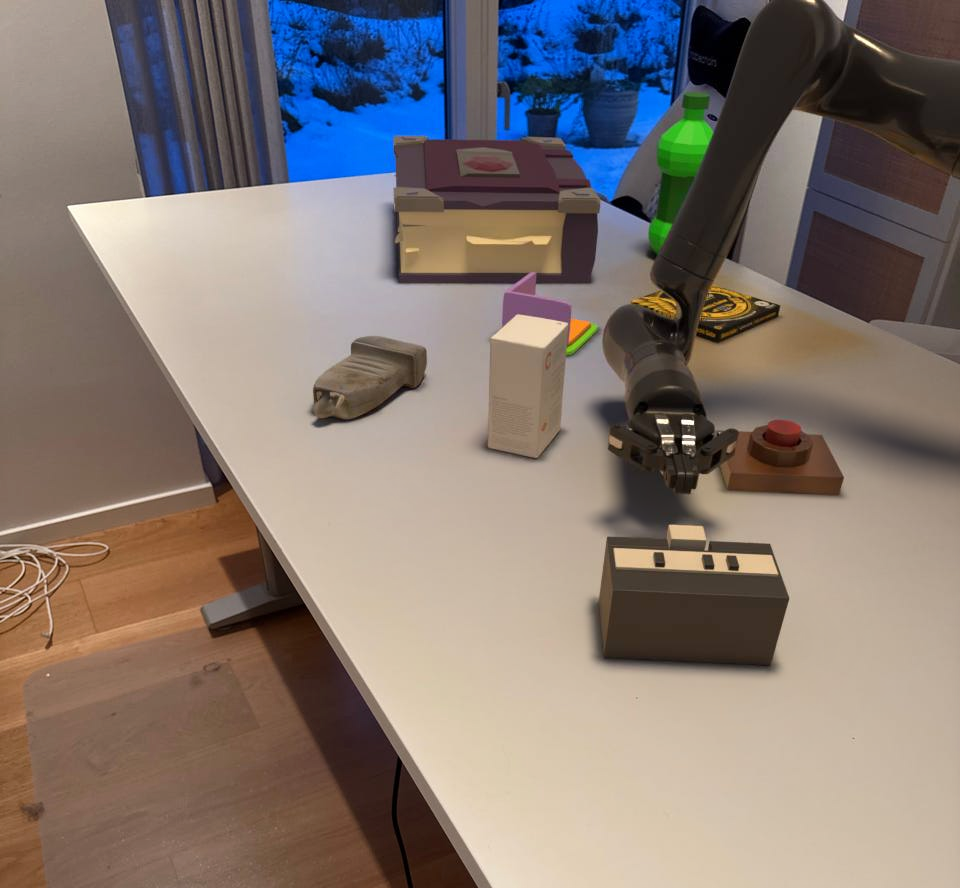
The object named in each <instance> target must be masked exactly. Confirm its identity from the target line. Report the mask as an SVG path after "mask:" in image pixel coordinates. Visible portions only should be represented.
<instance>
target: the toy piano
mask: <svg viewBox="0 0 960 888" xmlns="http://www.w3.org/2000/svg"><path fill="white" fill-rule="evenodd" d="M708 542H709V543H708V547H707V550H706V549H705V550H686V549H669V545H668V540H667V539H666V538H651V537H633V536H632V537H628V536H611V535H610V536H608V535H607V536H606V540H605V548H604V557H603V565H602V571H601V579H600V587H599V596H598V610H599V621H600V631H601V641H602V653H603V658H608V659H629V660H650V661H669V662H670V661H672V662H692V663H693V662H694V663H696V662H697V663H710V664H711V663H712V664H713V663H715V664H735V665H757V666H771V665H772V662H773V658H774V655H775V652H776V648H777V644H778V641H779V637H780V634H781V630H782V627H783V624H784V619H785V617H786V616H785V615H786V612H787V609H788V605H789V603H790V596H789V593H788V589H787V587H786V584H785V581H784V579H783V576H782V574H781V570H780V568H779V565H778V563H777V559H776V556H775V553H774V551H773V548H772V545H771V543H765V542H764V543H763V542H741V541H719V540H717V541H716V540H710V541H708Z"/></svg>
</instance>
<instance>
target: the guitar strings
mask: <svg viewBox="0 0 960 888" xmlns="http://www.w3.org/2000/svg"><path fill="white" fill-rule="evenodd" d="M630 304H638V305H641V306H644V307H646V308H649V309H651V310H653V311H655V312H658V313H660V314H662V315H664V316H667V317H669V318H671V319H673V318H674V316H675V314H676V303H675V301H674V300H673V299H672V298H670V297H669V296H668V295H666V294H665V293H664V292H662V291H661V290H660V289H659V290H658V291H655V292H652V293H649V294H647V295H646V294H645V295H643V296H640V297H638V298H635V299H633V300H632V299H631V300H630ZM780 310H781V304H777V303H774V302H772V301H768V300H764V299H761V298H758V297H755V296H751V295H748V294H745V293H742V292H738V291H735V290H733V289H732V290H731V289H729V288H726V287H721V286H718V285H716V284H712V286H711V288H710V290H709V293H708V295H707V298H706V301H705V304H704V307H703V310H702V313H701V316H700V320H699V324H698V328H697V332H696V337H699V338H703V339H704V340H705V339H706V340H707V341H712V342H714V343H717V344H718V343H720V342H723V341H725V340H727V339H730V338H732V337H735V336H737V335H739V334H741V333H744V332H746V331H748V330H749V331H750V330H751V329H753V328H756V327H758V326H761V325H762V324H765V323H767V322H770V321H772V320H774V319H776V318H778V317H779V314H780Z"/></svg>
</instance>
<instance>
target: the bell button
mask: <svg viewBox="0 0 960 888" xmlns="http://www.w3.org/2000/svg"><path fill="white" fill-rule="evenodd" d="M766 425H767V429H766V433H765V437H764V440H765V441H767V442H768V443H770V444H772V445H776V446H780V447H793V446H797V445H798V441H799V437H800V434H801V431H802V427H801V426H800V425H799V424H798V423H797V422H795V421H791V420H788V419H773V420H770V421H769V422H767V424H766Z"/></svg>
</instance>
